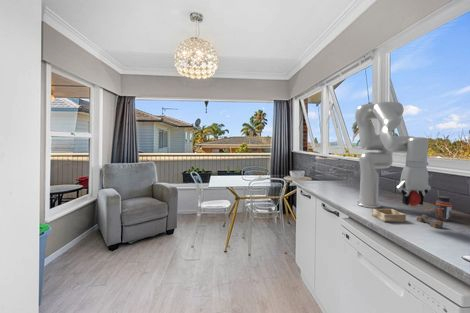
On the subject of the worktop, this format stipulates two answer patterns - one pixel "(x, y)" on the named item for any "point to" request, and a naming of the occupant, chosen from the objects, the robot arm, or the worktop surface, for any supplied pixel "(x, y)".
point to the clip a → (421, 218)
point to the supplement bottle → (443, 209)
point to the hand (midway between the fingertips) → (412, 203)
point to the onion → (414, 198)
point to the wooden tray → (388, 215)
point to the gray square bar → (430, 221)
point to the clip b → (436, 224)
